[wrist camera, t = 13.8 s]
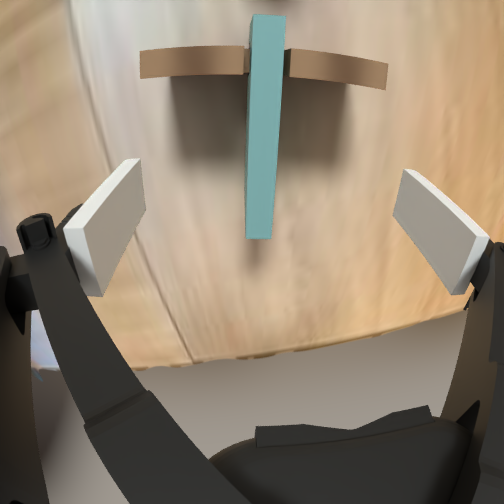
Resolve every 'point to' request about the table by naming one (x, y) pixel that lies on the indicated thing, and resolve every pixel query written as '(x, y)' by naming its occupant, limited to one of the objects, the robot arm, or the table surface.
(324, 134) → the table surface
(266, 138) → the teal plate
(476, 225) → the robot arm
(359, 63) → the walnut plate
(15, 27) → the table surface
